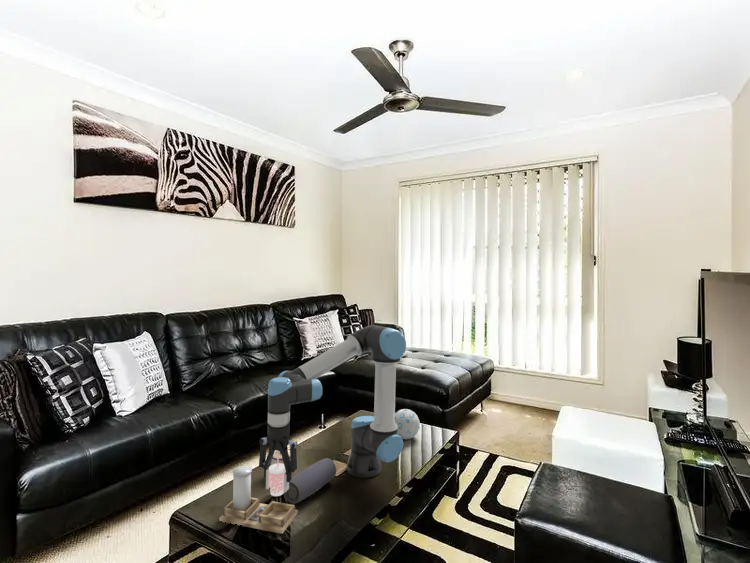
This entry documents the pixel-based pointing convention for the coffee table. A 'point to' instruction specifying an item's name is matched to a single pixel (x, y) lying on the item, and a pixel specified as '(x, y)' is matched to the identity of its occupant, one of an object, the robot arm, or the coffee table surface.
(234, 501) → the grey tube
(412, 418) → the puzzle ball
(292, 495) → the bluetooth speaker
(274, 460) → the teacup with lid
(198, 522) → the coffee table surface
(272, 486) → the beverage cup
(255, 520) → the rack
